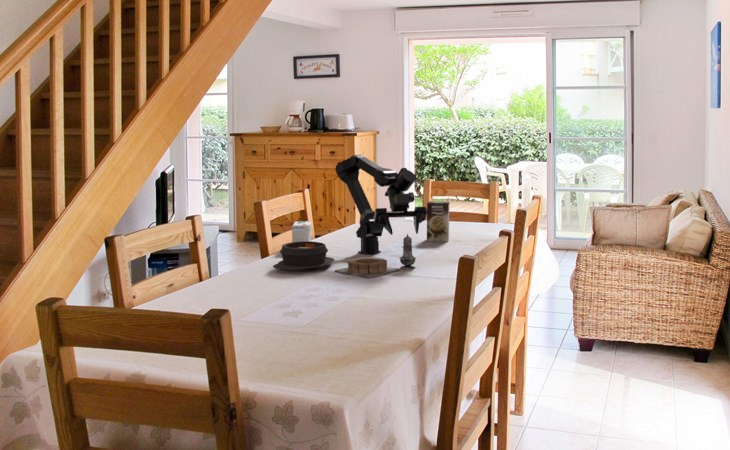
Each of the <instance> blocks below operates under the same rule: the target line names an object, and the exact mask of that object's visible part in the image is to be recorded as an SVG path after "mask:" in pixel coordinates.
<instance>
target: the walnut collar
mask: <svg viewBox="0 0 730 450" xmlns="http://www.w3.org/2000/svg"><path fill="white" fill-rule="evenodd" d="M401 270H402V269H400V268H397V267H391V266H388V260H386V259H385V258H383V257H382V258H380V257H371V256H370V257H368V256H367V257H364V256H363V257H356V258H355V257H354V258H351V259H349V260H348V261H347V267H344V268H338V269H334V273H339V274H344V275H349V276H355V277H360V278H365V279H371V278H376V277H380V276H385V275H389V274H393V273H397V272H400V271H401Z"/></svg>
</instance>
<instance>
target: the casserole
mask: <svg viewBox="0 0 730 450" xmlns="http://www.w3.org/2000/svg"><path fill="white" fill-rule="evenodd" d="M326 246H327V245H326V244H325V243H324V242H318V241H311V242H310V241H304V242H292V241H291V242H287V243H285V244H282V247H281V248H280V250H279V253H280V255H281V257H282V260H280V261H278V262H277V263H275V264H274V265H272V267H273V268H274V269H277V270H282V271H294V272H310V271H317V270H319V269H322V268H324V267H326V266H329V265H331V264H332V262H333V261H335V258H333V257H329V256H327V254H328V252H329V249H328V248H327V247H326Z"/></svg>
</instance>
